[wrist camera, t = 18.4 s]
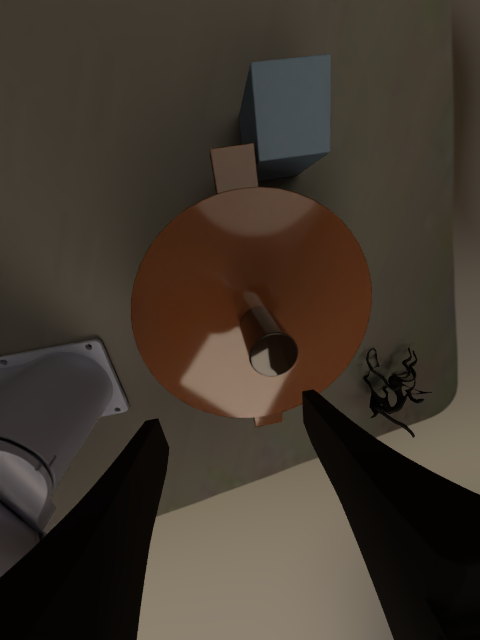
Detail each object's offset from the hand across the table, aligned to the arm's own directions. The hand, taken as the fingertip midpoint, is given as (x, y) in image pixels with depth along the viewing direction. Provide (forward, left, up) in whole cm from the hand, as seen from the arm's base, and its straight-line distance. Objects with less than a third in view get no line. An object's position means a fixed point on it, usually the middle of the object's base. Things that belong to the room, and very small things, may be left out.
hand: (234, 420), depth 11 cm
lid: (+2, +3, -5) cm, 6 cm away
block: (+6, +14, -10) cm, 18 cm away
